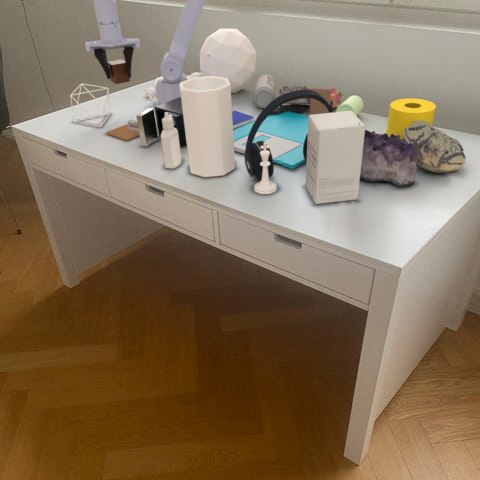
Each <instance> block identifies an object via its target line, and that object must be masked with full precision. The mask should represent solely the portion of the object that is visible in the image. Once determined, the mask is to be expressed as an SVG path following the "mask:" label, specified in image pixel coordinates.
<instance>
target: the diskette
mask: <svg viewBox="0 0 480 480" xmlns="http://www.w3.org/2000/svg"><path fill="white" fill-rule="evenodd" d="M255 121H256V120H254V121H253V122H250V123H247V124H245V125H242V126H240V127H237V128H234V129H233V137H234V152H237V153H239V154H240V153H241V154H243V155H245V148H246V143H247V139H248V135H249V133H250V130H251V128H252V126H253V124H254V122H255ZM307 133H308V115H306V114H301V113H298V112H296V113H293V112H290V111H288V112H284V113H281V114H270V115H269V116H268V117H267V118H266V119H265V120H264V121H263V123H262V124H261V125H260V127H259V129H258V131H257V133H256V135H255V137H254V140H253V143H256V142H258V141H264V142H266V144H267V145H269V149H270V151H271V154H272V158H273V164H274V163H275V164H278V165H281V166H282V167H285V168H288V169H296V168H297V167H300V166H301V165H303V164H305V163H307V162H306V161H305V159H304V156H303V145H304V141H305V138H306V135H307Z"/></svg>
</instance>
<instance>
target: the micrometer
mask: <svg viewBox="0 0 480 480" xmlns="http://www.w3.org/2000/svg"><path fill="white" fill-rule="evenodd" d="M306 110H307V107H306V106H304V107H303V106H302V105H298V104H282V105H281V106H279V107H278V108H276V109H275V110H274V111H273V112H272V113H271V114H281V113H284V112H288V111H290V112H293V113H302V112H303V111H306Z"/></svg>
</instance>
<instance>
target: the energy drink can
mask: <svg viewBox="0 0 480 480" xmlns="http://www.w3.org/2000/svg"><path fill="white" fill-rule="evenodd" d="M276 87H277V82H276V80H275V78H274V77H273V76H271V74H263V75H262V74H261V76H259V77H258V78H257V81H256V84H255V88H254V94H253V102H254V104H255V105H256V106H257V107H259V108H260V109H264V108H265V107H266V106H267V105H269V104H270V103H271V102H272V101H273V100H275V95H276Z"/></svg>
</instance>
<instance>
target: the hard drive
mask: <svg viewBox="0 0 480 480" xmlns="http://www.w3.org/2000/svg"><path fill="white" fill-rule="evenodd" d="M254 119H255V118H254V116H253V115H250V114H247V113H244V112H241V111H237V110H232V120H233V130H235V129H237V128H240V127H242V126H244V125H247V124H249V123H251V122H254V121H255V120H254Z"/></svg>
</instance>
